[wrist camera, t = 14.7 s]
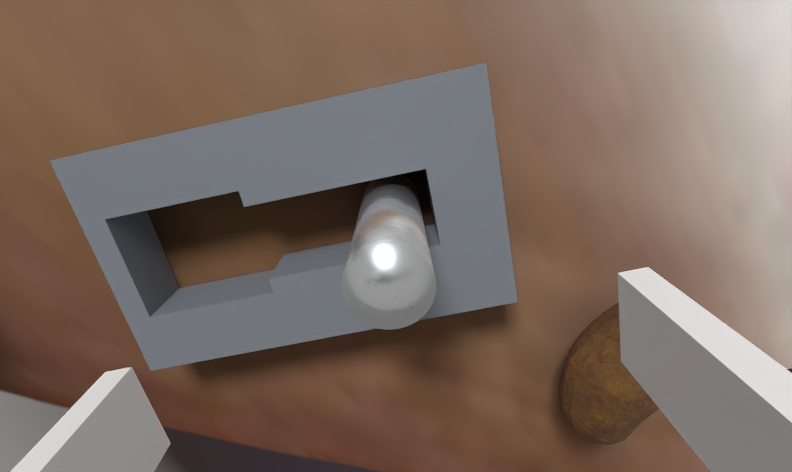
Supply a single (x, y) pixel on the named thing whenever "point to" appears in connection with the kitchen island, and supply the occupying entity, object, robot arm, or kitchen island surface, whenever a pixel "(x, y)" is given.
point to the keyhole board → (287, 177)
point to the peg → (389, 258)
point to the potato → (602, 385)
